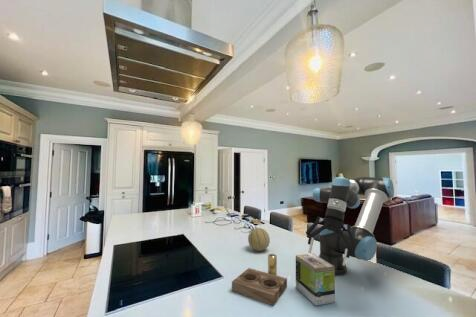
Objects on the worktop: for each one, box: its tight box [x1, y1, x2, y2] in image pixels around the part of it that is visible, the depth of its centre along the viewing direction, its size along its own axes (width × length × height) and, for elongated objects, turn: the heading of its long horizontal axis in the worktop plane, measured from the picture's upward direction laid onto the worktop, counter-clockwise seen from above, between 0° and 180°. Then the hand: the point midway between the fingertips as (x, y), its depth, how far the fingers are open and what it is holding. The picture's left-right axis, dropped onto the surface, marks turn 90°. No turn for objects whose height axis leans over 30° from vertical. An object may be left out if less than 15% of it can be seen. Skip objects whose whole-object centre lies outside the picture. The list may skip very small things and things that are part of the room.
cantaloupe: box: [247, 226, 271, 252], centre depth 146 cm, size 15×15×15 cm
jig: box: [231, 267, 288, 306], centre depth 98 cm, size 16×20×4 cm
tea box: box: [295, 253, 336, 306], centre depth 95 cm, size 15×10×15 cm, turn 17°
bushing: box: [267, 253, 278, 276], centre depth 111 cm, size 4×4×10 cm
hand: (325, 259), depth 91 cm, fingers open, 13 cm apart
